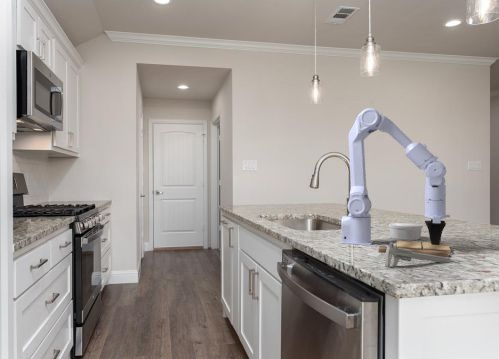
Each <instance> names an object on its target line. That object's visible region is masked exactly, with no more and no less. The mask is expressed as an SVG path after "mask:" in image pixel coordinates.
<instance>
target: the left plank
mask: <svg viewBox="0 0 499 359" xmlns="http://www.w3.org/2000/svg"><path fill="white" fill-rule="evenodd" d="M395 244H397V247H402V248H417V249H423V248H422V242H421V241H411V240H396V243H395Z"/></svg>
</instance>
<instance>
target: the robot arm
mask: <svg viewBox="0 0 499 359" xmlns="http://www.w3.org/2000/svg"><path fill="white" fill-rule="evenodd" d="M376 131H380V132H382V133H385V134H386V133H387V134H389V135H390V136H391V137H392V138H393V139H394V140H395V141H396V142H397V143H399V145H400V146H402V147H403V148H404V149H405V153H404V154H405V156H406V157H407V158H408V159H409V160H410V161H411V162H412V163H413V165H415V166H416V167H417V168H418V169H419V170H423V171H424V173H423V174H424V175H425V176H426V177H425V185H424V213H423V216H424V218H428V219H431V220H424V224H425V225H426V227H427V230H428V236H429V241H430V242H429V243H431V244H432V245H439V244H440V243H441V239H442V234H443V231H444V229H445V227H446V225H447V223H446V221H445V220H444V219H446V218H451V215H450V214H446V209H447V208H446V205H447V204H446V201H447V200H446V196H447V195H446V194H447V193H446V192H447V190H446V189H447V188H446V186H447V185H446V184H445V183H446V178H445V176H446V174H447V169H446V165H445V164H444V163H443V162H441V161H439V157H438V156H437V155H434V154H433V153H432V152H431V151H430V150H429V149H428V148H427V147H428V146H427V145H426V144H425V143H423V144H422V143H421V141H419V142H418V141H417V142H414V141H412V139H410V137H408V135H406V134H405V133H404V132H403V131H402V130H401V129H400V128H399V126H397V125H396V124H395V123H394V122H393V121H392V120H391V119H389V118H388V117H387V116H385V115H384V114H383V113H380V112H379V111H378V110H377V109H376V108H374V107H367V108H364V109H363V110H362V111H361V112H360V113H359V114H358V115H356V118H355V121H354V123H353V124H352V127H351V128H350V131H349V132H348V153H349V154H348V155H349V172H350V173H349V174H350V192H349V199H348V201H347V205H346V206H347V210H348V212H349V213H348V215H342V217H341V224H340V225H341V231H340V235H341V236H340V237H341V238H340V239H341V242H340V244H347V245H361V246H372V244H373V242H374V241H373V239H372V235H371V234H372V215H371V214H370V211H371V209H372V202H371V199H370V197H369V191H368V189H367V188H368V187H367V177H366V176H367V175H366V159H365V157H366V154H365V153H366V152H365V139H367V138H368V137H369V136H370V135H371V134H372V133H374V132H376ZM442 219H443V220H442ZM371 239H372V240H371Z"/></svg>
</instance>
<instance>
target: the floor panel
mask: <svg viewBox="0 0 499 359" xmlns="http://www.w3.org/2000/svg"><path fill="white" fill-rule="evenodd" d="M387 247H388V246H386V245H385V246H384V245H382V246H381V245H379V247H378V253H381V254H385V253H386V249H387ZM396 248H400V249H406V250H411V251H412V252H414V253H420V254H427V255H434V256H440V257H446V258H450V257H449V256H450V254H448V252H447V250H432V249H423V248H422V249H417V248H402V247H396Z"/></svg>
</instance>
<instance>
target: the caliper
mask: <svg viewBox="0 0 499 359" xmlns="http://www.w3.org/2000/svg"><path fill="white" fill-rule="evenodd" d="M396 247H397V244H396V243H393V242H389V245H388V246H387V249H386V253H384V266H385V267H386V268H390V266H391V267H394V268H396V267H397V265H399V264H398V263H399V261H400V260H403V261H408V262H411V261H412V259H413V260H420V261H421V260H423V261H429V262H435V263H441V264H444V263H446V264H447V263H453V262H454V263H455V261H454V260H451V258H450V257H449V258H448V257H440V256H434V255H427V254H420V253H414V252H412V251H411V250H406V249H400V248H396Z"/></svg>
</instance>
